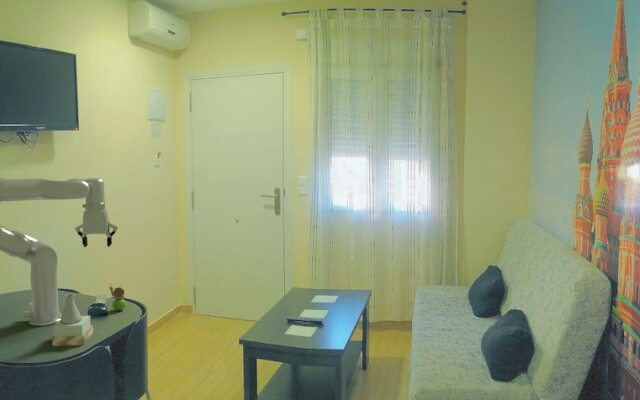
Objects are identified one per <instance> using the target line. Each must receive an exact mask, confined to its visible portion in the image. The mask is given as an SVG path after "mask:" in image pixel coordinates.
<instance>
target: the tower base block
mask: <svg viewBox="0 0 640 400" xmlns="http://www.w3.org/2000/svg"><path fill="white" fill-rule="evenodd" d="M93 335H94V325H91V326H90V327H89V328H88V329H87V331H86V332H85V333H84V335H83V336H61V337H54V335H53V336H52V337H51V340H52V347H60V346H61V347H62V346H63V347H65V346H84V345H85V344H86V343H88V341H89V340H90V339H91V337H92V336H93Z"/></svg>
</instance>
